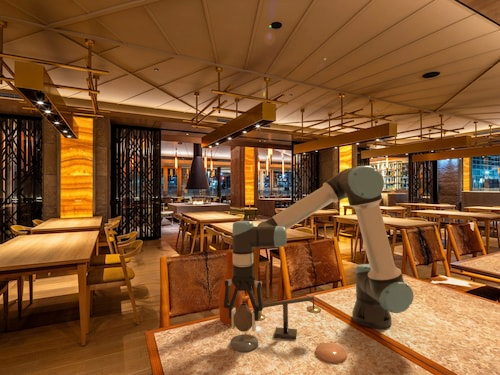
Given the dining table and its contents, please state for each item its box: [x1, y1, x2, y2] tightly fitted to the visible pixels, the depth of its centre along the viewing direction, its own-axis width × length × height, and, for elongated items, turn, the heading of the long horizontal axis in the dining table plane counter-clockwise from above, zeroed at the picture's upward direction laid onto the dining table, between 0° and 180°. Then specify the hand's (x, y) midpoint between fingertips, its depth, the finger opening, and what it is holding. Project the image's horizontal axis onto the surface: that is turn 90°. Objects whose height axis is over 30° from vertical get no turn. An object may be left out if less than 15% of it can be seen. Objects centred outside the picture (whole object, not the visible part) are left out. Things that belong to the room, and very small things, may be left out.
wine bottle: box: [218, 249, 243, 326], centre depth 118 cm, size 10×10×30 cm
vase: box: [234, 302, 253, 332], centre depth 100 cm, size 7×7×9 cm
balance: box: [256, 296, 322, 341], centre depth 106 cm, size 26×5×15 cm, turn 77°
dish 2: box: [315, 342, 348, 364], centre depth 93 cm, size 10×10×1 cm
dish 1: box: [229, 333, 259, 353], centre depth 100 cm, size 10×10×1 cm
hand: (243, 328), depth 100 cm, fingers closed on vase, 7 cm apart
